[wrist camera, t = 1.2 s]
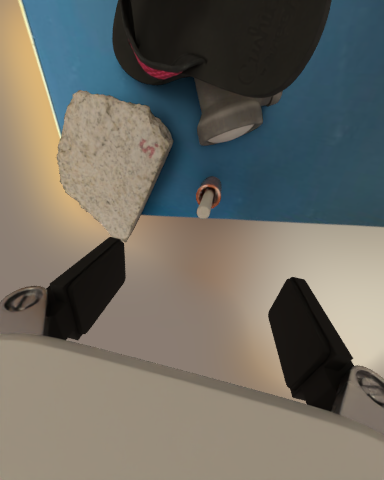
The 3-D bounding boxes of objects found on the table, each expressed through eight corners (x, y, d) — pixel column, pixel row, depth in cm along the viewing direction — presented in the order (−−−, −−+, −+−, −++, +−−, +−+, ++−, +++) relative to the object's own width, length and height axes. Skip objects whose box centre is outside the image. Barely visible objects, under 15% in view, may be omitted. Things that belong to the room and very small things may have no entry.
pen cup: (203, 174, 29) (198, 182, 23) (223, 178, 29) (223, 187, 23) (199, 194, 31) (194, 206, 25) (219, 198, 31) (217, 211, 25)
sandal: (126, -30, 20) (72, -61, 17) (395, -126, 8) (388, -299, 5) (133, 80, 26) (94, 73, 23) (290, 116, 14) (256, 113, 11)
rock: (134, 224, 39) (117, 253, 31) (56, 166, 32) (8, 185, 24) (201, 154, 30) (201, 170, 22) (111, 52, 23) (63, 22, 15)
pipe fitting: (201, 152, 27) (269, 131, 26) (200, 143, 20) (295, 112, 18) (179, 57, 23) (257, 25, 22) (167, 1, 16) (284, -55, 14)
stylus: (208, 182, 29) (197, 205, 18) (216, 183, 29) (211, 207, 18) (206, 190, 30) (195, 217, 19) (214, 192, 30) (208, 220, 19)
